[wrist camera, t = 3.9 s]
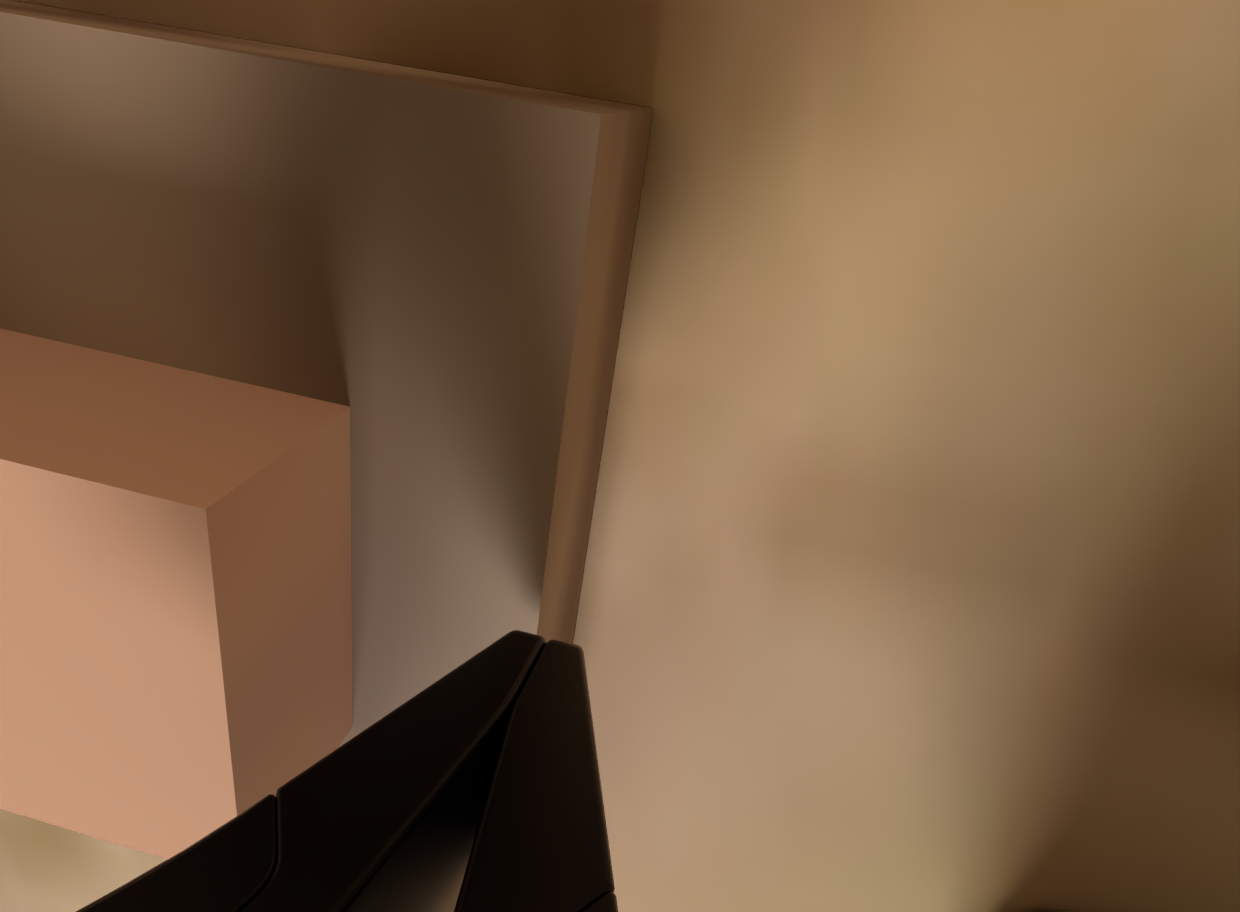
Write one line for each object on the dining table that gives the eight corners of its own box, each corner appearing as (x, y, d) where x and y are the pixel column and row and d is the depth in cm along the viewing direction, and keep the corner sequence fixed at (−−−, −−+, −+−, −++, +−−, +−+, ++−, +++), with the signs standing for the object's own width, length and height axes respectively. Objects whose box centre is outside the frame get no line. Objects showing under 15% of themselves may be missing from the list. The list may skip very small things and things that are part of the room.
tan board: (653, 107, 10) (601, 114, 7) (552, 781, 15) (500, 928, 13) (-449, -78, 12) (-811, -128, 9) (-199, 575, 17) (-382, 665, 14)
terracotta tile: (350, 407, 9) (205, 509, 7) (352, 726, 11) (244, 882, 9) (-31, 321, 10) (-279, 391, 7) (42, 641, 12) (-132, 768, 10)
